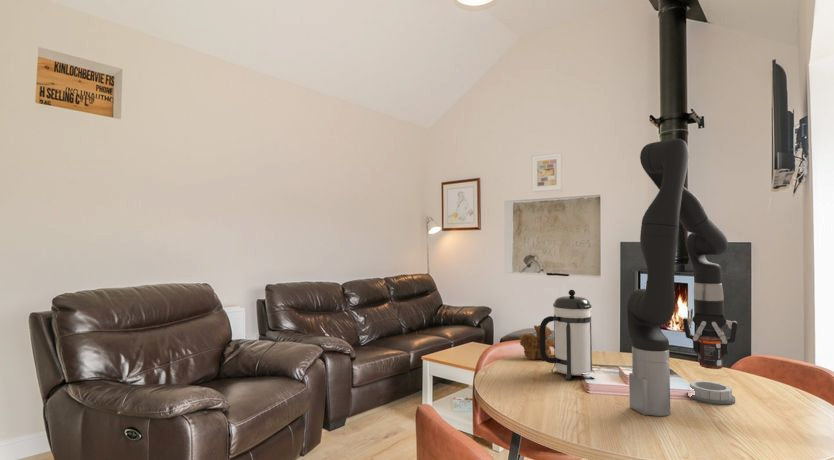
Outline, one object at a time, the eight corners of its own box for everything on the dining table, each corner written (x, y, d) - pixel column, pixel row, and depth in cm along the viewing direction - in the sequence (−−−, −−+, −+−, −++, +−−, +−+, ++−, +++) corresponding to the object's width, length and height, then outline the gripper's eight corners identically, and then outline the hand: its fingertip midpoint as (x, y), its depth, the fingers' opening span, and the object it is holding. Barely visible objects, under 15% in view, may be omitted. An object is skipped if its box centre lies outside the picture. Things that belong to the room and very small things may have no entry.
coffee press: (556, 366, 169) (554, 286, 170) (600, 373, 160) (599, 289, 161) (539, 378, 155) (538, 290, 156) (587, 386, 146) (585, 293, 147)
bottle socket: (708, 406, 128) (708, 393, 128) (678, 392, 140) (677, 381, 140) (745, 403, 130) (745, 391, 130) (712, 390, 142) (712, 378, 142)
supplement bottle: (726, 370, 131) (725, 331, 132) (704, 369, 133) (702, 330, 133) (717, 364, 137) (716, 327, 138) (696, 364, 138) (694, 326, 139)
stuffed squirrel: (560, 360, 179) (560, 326, 179) (528, 362, 176) (527, 328, 176) (547, 354, 189) (547, 322, 189) (516, 356, 185) (516, 324, 186)
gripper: (679, 298, 137) (681, 354, 136) (737, 301, 128) (739, 360, 128) (682, 295, 143) (684, 349, 142) (738, 298, 134) (740, 355, 134)
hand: (710, 354), depth 135 cm, fingers closed on supplement bottle, 6 cm apart
